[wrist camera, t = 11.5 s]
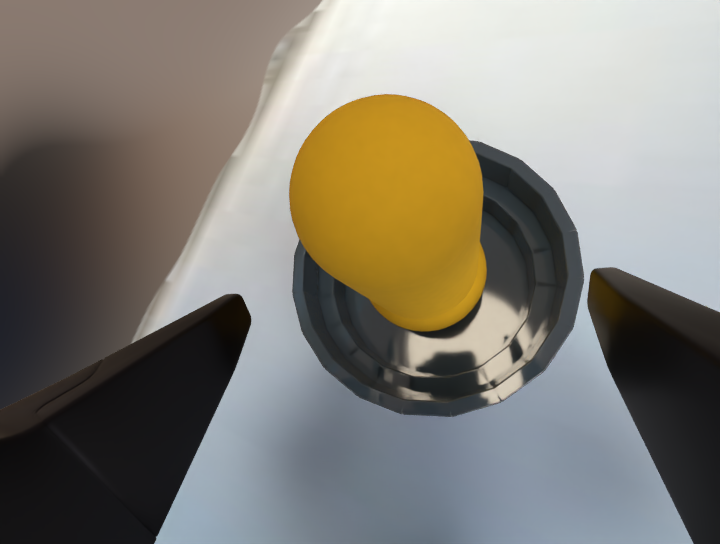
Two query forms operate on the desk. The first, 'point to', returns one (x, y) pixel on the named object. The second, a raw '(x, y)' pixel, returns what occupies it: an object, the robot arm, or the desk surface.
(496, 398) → the slate bowl
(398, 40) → the desk surface
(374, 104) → the yellow blob
